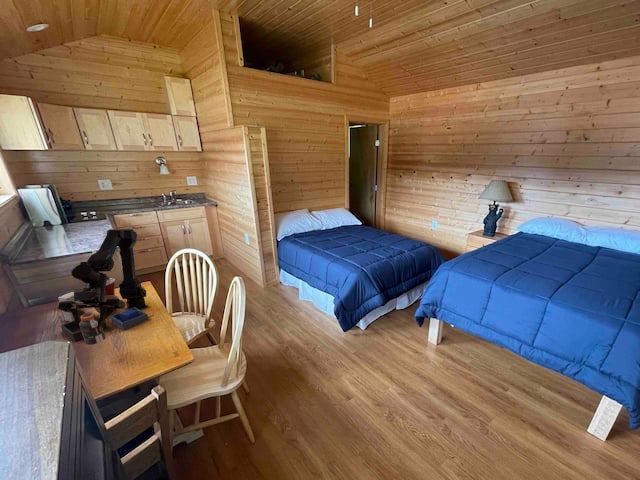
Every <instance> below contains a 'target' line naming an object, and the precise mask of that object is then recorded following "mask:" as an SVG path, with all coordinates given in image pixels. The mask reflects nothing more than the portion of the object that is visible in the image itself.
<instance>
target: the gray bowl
mask: <svg viewBox="0 0 640 480" xmlns="http://www.w3.org/2000/svg"><path fill="white" fill-rule="evenodd" d="M117 298H118V299H120V297H119V296H118V295H116V294H115V295H108V296H104V302H106V300H107V299H117ZM94 310H95V312H97V313H98V314H100V307H96V308H94ZM115 310H116V311H114V312H112V314H111V315H110V316H112V315H115V314H116V313H117V310H118V309H115Z"/></svg>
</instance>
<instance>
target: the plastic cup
mask: <svg viewBox="0 0 640 480" xmlns="http://www.w3.org/2000/svg"><path fill="white" fill-rule="evenodd" d="M115 281H116V279H115V278H114V277H113V278H112V277H109V280H107V282H106V288H105V291H106V292H107V293H106V294H105V295H104V296H108V295H115V296H116V293H115V291H116V290H115Z"/></svg>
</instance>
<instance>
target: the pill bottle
mask: <svg viewBox="0 0 640 480" xmlns="http://www.w3.org/2000/svg"><path fill="white" fill-rule="evenodd" d="M96 316H97V315H96V314H95V312H85V314H83V315H81V317H80V318H81V321H80V323H79V326H80V329H81V332H82V335H83V341H84V342H85V344H86V345H88V346H90V345H91V346H92V345H97V344H100V343H102V342H104V340H105V339H106V334H105V330H103V327H102V326H101V327H98V321H99V317H98V316H97V317H96Z"/></svg>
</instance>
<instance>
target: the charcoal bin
mask: <svg viewBox="0 0 640 480" xmlns="http://www.w3.org/2000/svg"><path fill="white" fill-rule="evenodd" d="M95 316H96V317H98V316H97V315H95ZM102 327H103V331H106V330H108V326H107V322H106V321H105V322H104V323H103V325H102ZM60 328H61V330H62V333H63V334H65V335H66V336H67V337H69V338H70V339H71V340H72V341H74V342H77V341H80V340H82V339H83V340H84V338H83V335H82V332H81V329H77V326H76V322H75V321H72V322H70V321H68V322H66V323H63V324H61V325H60Z"/></svg>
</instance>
